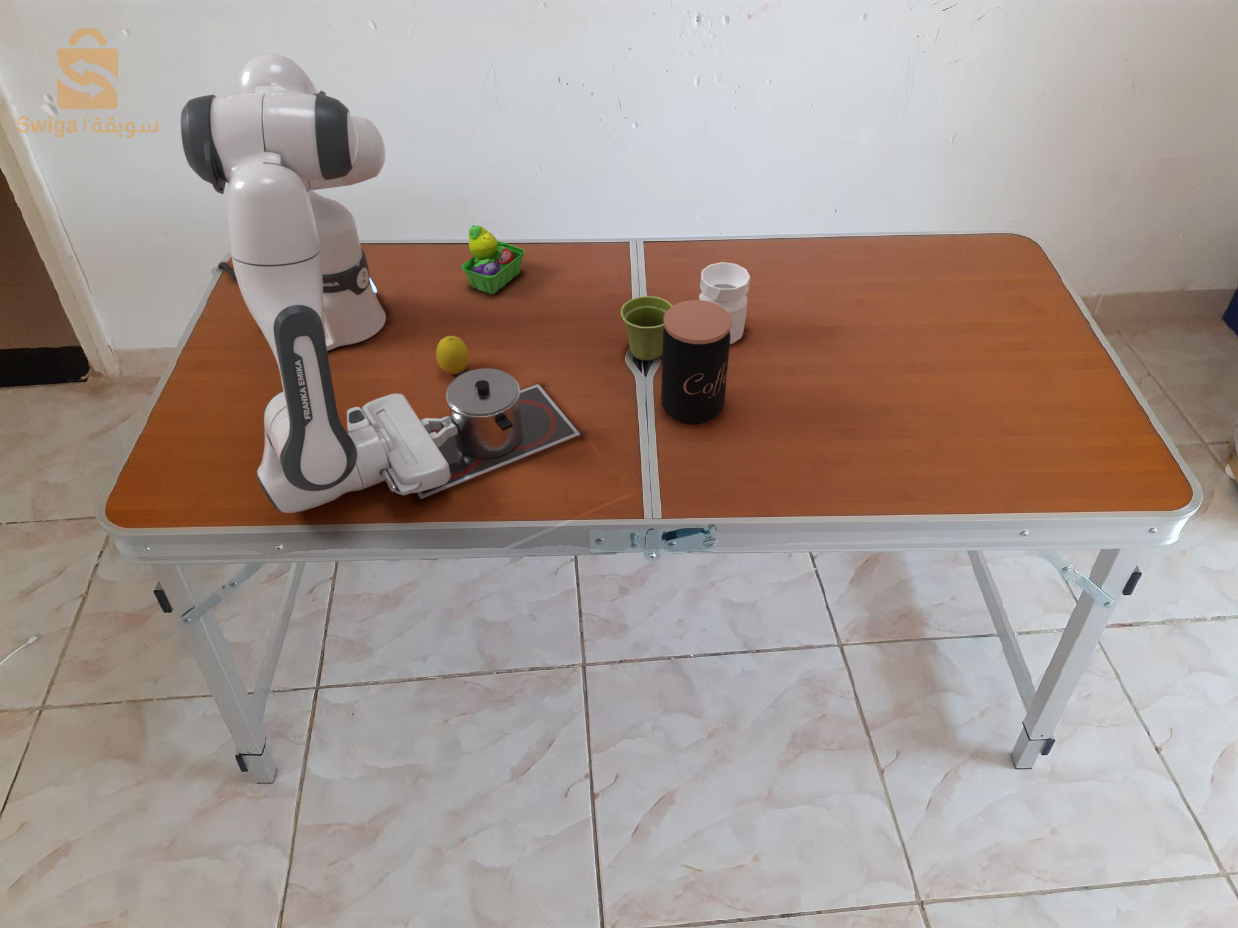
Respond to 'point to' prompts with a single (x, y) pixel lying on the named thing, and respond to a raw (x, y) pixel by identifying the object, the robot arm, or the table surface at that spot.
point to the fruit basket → (491, 261)
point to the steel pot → (485, 412)
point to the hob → (539, 433)
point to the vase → (727, 292)
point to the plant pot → (645, 325)
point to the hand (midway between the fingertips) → (454, 424)
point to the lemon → (452, 355)
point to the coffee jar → (695, 361)
